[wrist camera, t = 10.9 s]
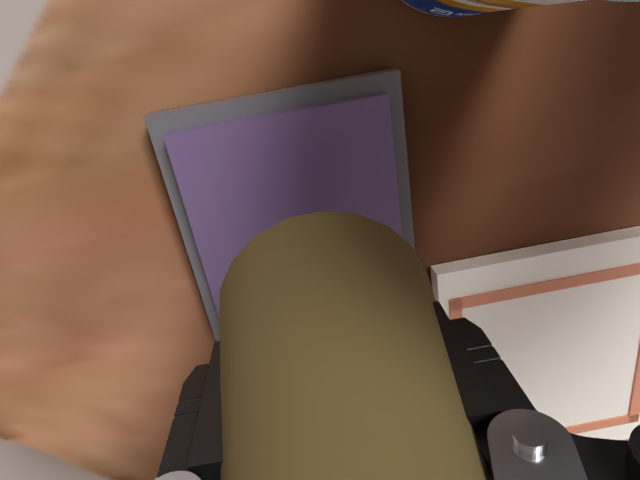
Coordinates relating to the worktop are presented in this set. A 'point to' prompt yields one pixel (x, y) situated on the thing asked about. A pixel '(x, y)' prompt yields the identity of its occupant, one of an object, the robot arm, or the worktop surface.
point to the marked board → (560, 324)
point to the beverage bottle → (479, 6)
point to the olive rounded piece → (337, 360)
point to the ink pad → (282, 165)
